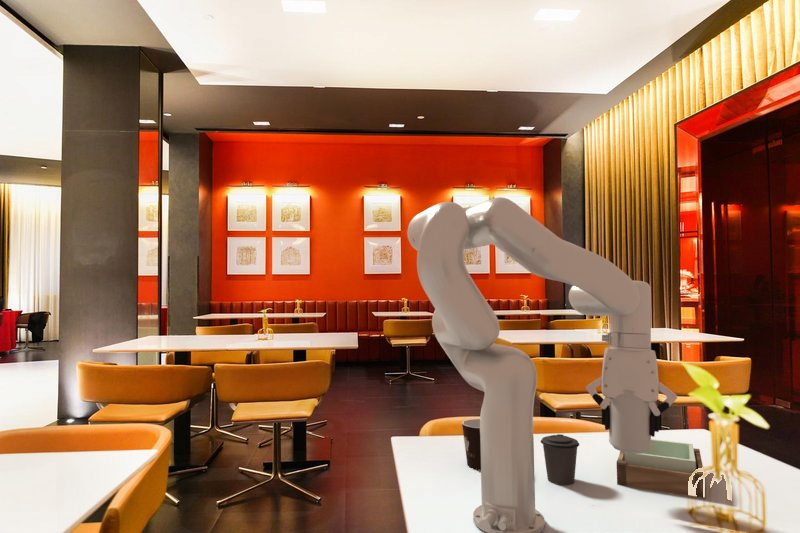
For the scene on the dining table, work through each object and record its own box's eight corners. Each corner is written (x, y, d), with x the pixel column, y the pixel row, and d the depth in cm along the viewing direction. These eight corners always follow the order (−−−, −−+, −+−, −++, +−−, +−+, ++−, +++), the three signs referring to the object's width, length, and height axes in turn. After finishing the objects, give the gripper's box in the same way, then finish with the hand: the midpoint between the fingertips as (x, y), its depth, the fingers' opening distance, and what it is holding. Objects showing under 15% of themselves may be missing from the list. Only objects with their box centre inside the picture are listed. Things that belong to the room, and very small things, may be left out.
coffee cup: (568, 476, 111) (567, 431, 112) (588, 489, 103) (586, 441, 104) (535, 478, 110) (534, 433, 110) (552, 492, 102) (551, 443, 102)
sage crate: (697, 492, 99) (695, 461, 99) (625, 481, 105) (624, 452, 106) (693, 471, 111) (692, 443, 111) (629, 462, 117) (628, 436, 117)
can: (642, 445, 100) (642, 385, 101) (657, 456, 93) (657, 391, 94) (604, 442, 101) (604, 383, 102) (616, 453, 94) (616, 389, 94)
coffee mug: (464, 458, 124) (463, 418, 124) (498, 460, 122) (498, 419, 123) (460, 474, 112) (459, 430, 113) (498, 477, 111) (497, 432, 111)
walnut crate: (706, 502, 96) (704, 474, 97) (617, 488, 104) (616, 462, 104) (700, 473, 112) (699, 449, 112) (623, 462, 120) (623, 439, 120)
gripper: (581, 340, 99) (580, 429, 98) (680, 346, 91) (680, 443, 90) (586, 338, 106) (585, 421, 105) (679, 344, 98) (679, 434, 96)
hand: (629, 431), depth 97 cm, fingers closed on can, 7 cm apart
